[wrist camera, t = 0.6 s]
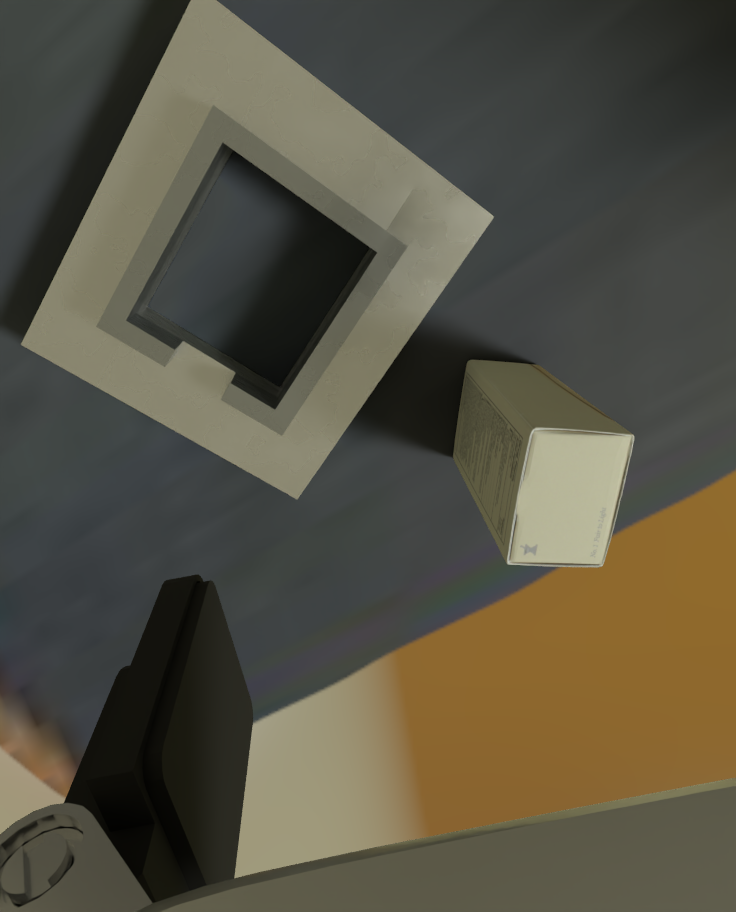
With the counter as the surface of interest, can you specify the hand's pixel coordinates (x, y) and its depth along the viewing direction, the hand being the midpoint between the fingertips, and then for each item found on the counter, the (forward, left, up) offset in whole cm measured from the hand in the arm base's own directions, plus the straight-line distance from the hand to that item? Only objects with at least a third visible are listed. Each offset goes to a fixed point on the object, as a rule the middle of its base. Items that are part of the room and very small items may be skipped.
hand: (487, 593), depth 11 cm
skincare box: (-9, 0, -25) cm, 27 cm away
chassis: (+6, +1, -25) cm, 26 cm away
